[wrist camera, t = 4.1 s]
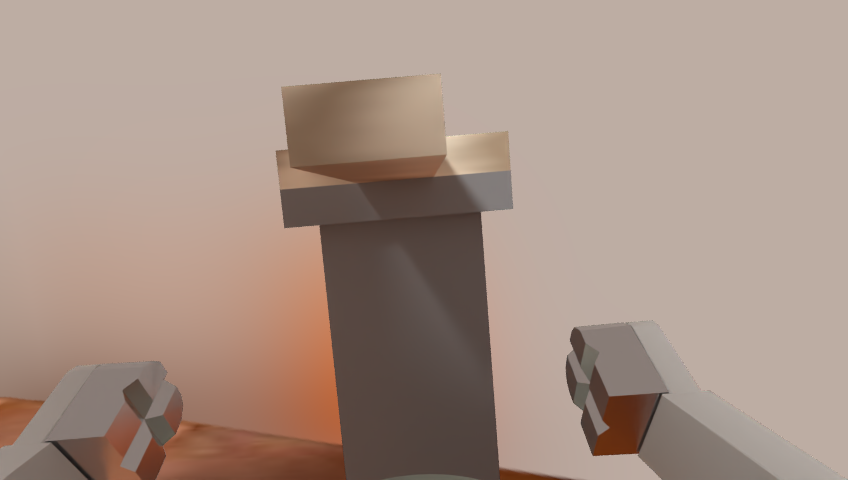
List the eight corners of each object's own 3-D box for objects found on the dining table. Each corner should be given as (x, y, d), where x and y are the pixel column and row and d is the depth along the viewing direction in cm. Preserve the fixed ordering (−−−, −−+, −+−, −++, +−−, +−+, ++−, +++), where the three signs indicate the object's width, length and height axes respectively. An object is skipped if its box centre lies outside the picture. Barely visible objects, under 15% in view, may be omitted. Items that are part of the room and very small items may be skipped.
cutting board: (133, 180, 11) (121, 100, 11) (327, 192, 35) (325, 166, 35) (604, 141, 11) (600, 60, 11) (480, 179, 35) (478, 154, 35)
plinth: (338, 707, 26) (280, 189, 23) (364, 548, 38) (327, 192, 35) (544, 690, 26) (510, 170, 23) (505, 536, 38) (480, 179, 35)
